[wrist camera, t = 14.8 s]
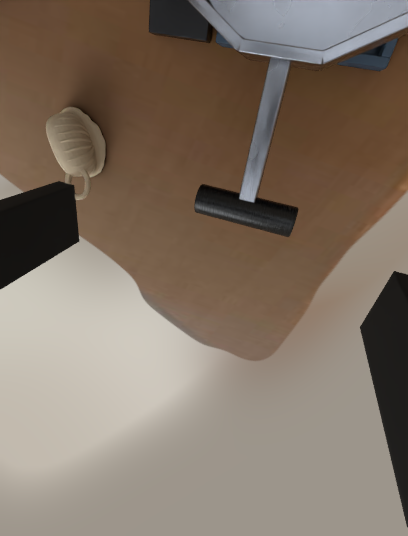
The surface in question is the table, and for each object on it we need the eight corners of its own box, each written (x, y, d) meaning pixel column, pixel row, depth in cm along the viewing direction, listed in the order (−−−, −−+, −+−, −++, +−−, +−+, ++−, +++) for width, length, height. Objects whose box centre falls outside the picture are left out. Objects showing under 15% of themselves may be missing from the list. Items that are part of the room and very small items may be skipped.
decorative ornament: (92, 101, 28) (52, 100, 24) (119, 186, 32) (88, 198, 28) (61, 110, 30) (18, 110, 25) (89, 190, 33) (56, 203, 29)
